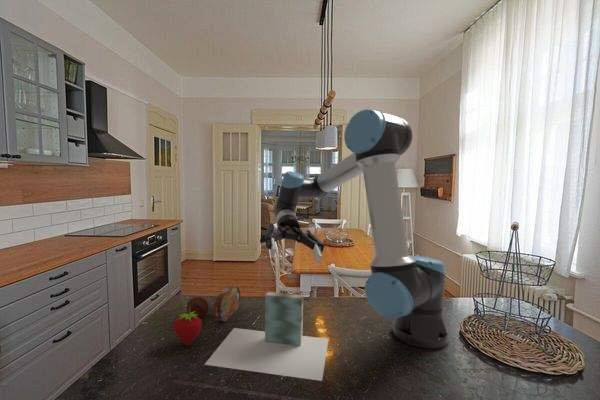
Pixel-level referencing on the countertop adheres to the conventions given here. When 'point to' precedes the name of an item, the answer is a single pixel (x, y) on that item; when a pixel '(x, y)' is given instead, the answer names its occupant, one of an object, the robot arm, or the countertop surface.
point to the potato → (198, 306)
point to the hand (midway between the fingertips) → (297, 256)
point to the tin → (227, 303)
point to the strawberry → (187, 327)
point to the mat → (271, 355)
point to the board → (284, 318)
